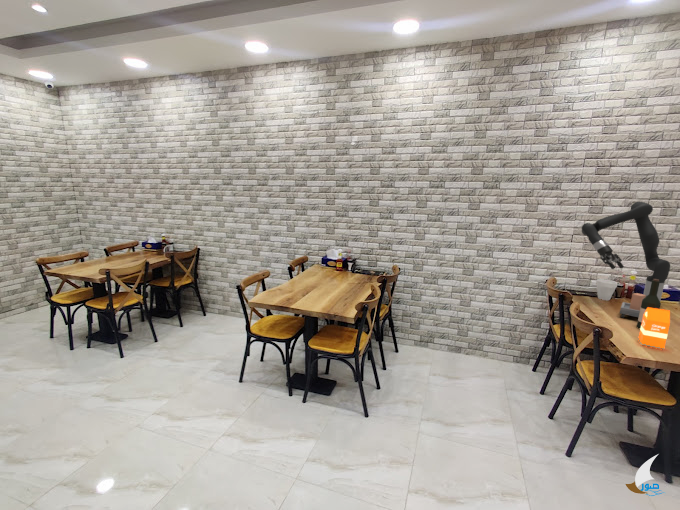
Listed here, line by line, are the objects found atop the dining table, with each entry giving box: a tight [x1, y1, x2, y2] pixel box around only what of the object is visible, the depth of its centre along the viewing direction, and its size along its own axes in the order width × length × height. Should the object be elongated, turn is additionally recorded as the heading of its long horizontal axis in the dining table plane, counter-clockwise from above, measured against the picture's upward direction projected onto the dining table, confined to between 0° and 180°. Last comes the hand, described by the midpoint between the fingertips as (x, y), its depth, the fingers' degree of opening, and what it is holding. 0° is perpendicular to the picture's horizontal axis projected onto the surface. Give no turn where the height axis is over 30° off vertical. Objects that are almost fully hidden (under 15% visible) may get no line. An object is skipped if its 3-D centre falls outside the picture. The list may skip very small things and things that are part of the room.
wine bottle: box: [636, 279, 662, 329], centre depth 188 cm, size 8×8×30 cm
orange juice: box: [638, 307, 671, 349], centre depth 169 cm, size 8×9×20 cm
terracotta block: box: [629, 292, 646, 311], centre depth 204 cm, size 5×5×10 cm
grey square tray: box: [619, 301, 640, 319], centre depth 206 cm, size 14×14×7 cm
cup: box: [595, 278, 618, 301], centre depth 240 cm, size 12×12×14 cm
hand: (618, 268), depth 216 cm, fingers open, 8 cm apart
